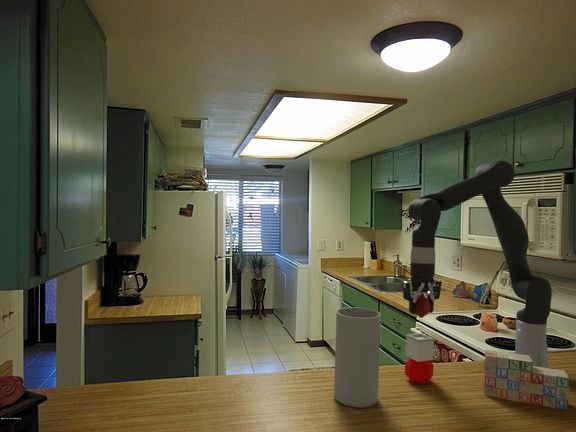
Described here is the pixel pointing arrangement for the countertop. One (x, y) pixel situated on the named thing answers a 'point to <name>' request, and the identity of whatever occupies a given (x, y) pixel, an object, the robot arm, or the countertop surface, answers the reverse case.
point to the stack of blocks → (524, 380)
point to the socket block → (419, 347)
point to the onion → (422, 306)
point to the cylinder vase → (357, 356)
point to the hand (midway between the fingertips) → (421, 312)
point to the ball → (419, 371)
